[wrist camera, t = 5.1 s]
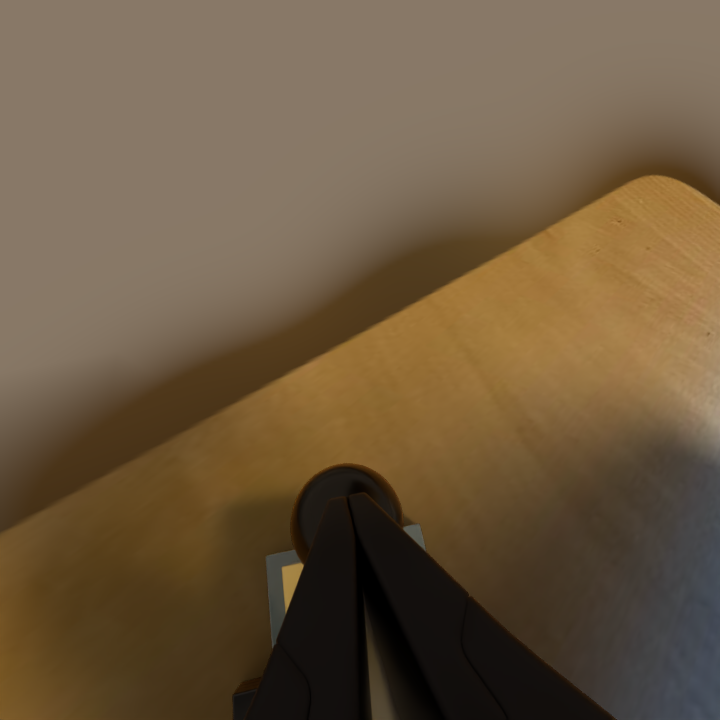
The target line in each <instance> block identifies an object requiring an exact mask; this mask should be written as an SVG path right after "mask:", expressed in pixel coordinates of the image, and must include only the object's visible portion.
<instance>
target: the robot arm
mask: <svg viewBox="0 0 720 720" xmlns="http://www.w3.org/2000/svg"><path fill="white" fill-rule="evenodd" d="M363 596H364V600H365V605H366V608H367V612H368V616H369V619H370V622H371V626H372V629H373V632H374V635H375V639H376V642H377V645H378V649H379V652H380V655H381V659H382V662H383V665H384V669H385V672H386V675H387V678H388V682H389V685H390V688H391V692H392V695H393V698H394V702H395V705H396V708H397V711H398V715H399V718H400V720H617V719H616V718H614V717H613V716H612V715H611V714H609V713H608V712H607V711H606V710H604V709H603V708H602V707H601V706H599V705H598V704H597V703H596V702H594V701H593V700H592V699H591V698H589V697H588V696H587V695H586V694H584V693H583V692H582V691H581V690H579V689H578V688H577V687H576V686H574V685H573V684H572V683H571V682H569V681H568V680H567V679H566V678H564V677H563V676H562V675H561V674H559V673H558V672H557V671H556V670H554V669H553V668H552V667H551V666H550V665H548V664H547V663H546V662H545V661H543V660H542V659H541V658H540V657H538V656H537V655H536V654H535V653H534V652H532V651H531V650H530V649H529V648H528V647H527V646H525V645H524V644H523V643H522V642H521V641H519V640H518V639H517V638H516V637H515V636H513V635H512V634H511V633H510V632H509V631H508V630H507V629H506V628H505V627H504V626H502V625H501V624H500V623H499V622H498V621H497V620H496V619H495V618H494V617H493V616H492V615H491V614H489V613H488V612H487V611H486V610H485V609H484V608H483V607H482V606H481V605H480V604H479V603H478V602H477V601H476V600H475V599H474V598H473V597H472V596H470V597H469V594H468V592H467V591H466V590H465V589H464V588H463V587H462V586H461V585H460V584H459V583H458V582H457V581H456V580H454V579H453V578H452V577H451V576H450V575H449V574H448V573H447V572H446V571H445V570H444V569H443V568H442V567H441V566H440V565H439V564H438V563H437V562H436V561H435V560H434V559H433V558H432V557H431V556H430V555H429V554H428V553H427V552H426V551H425V550H424V549H423V548H422V547H421V546H420V545H419V544H418V543H417V542H416V541H415V540H414V539H413V538H411V537H410V536H409V535H408V534H407V533H406V532H405V531H404V530H403V529H402V528H401V527H400V526H399V525H398V524H397V523H396V522H395V521H394V520H393V519H392V518H391V517H390V516H389V515H388V514H387V513H386V512H385V511H384V510H383V509H382V508H381V507H380V506H379V505H378V504H377V503H376V502H375V501H374V500H373V499H372V498H371V497H370V496H369V495H367V494H366V493H364V492H362V493H357V494H352V495H349V496H348V500H347V498H346V497H345V496H342V497H336V498H331V499H329V500H328V502H327V505H326V507H325V510H324V513H323V515H322V518H321V521H320V523H319V526H318V529H317V531H316V534H315V537H314V539H313V542H312V545H311V548H310V550H309V553H308V556H307V558H306V561H305V564H304V566H303V569H302V572H301V574H300V577H299V580H298V582H297V585H296V588H295V590H294V593H293V596H292V599H291V601H290V604H289V607H288V609H287V612H286V615H285V617H284V620H283V623H282V625H281V628H280V631H279V633H278V636H277V639H276V644H275V645H274V646H273V649H272V652H271V654H270V657H269V660H268V662H267V665H266V668H265V670H264V673H263V675H262V678H261V680H260V683H259V685H258V688H257V690H256V692H255V695H254V697H253V700H252V702H251V705H250V707H249V709H248V711H247V713H246V716H245V718H244V720H372V709H371V694H370V680H369V665H368V650H367V636H366V621H365V609H364V600H363Z"/></svg>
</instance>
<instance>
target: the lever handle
mask: <svg viewBox="0 0 720 720" xmlns="http://www.w3.org/2000/svg"><path fill="white" fill-rule="evenodd" d="M362 492H364V493H366V494H367V495H369V496H370V497H371V498H372V499H373V500H374V501H375V502H376V503H377V504H378V505H379V506H380V507H381V508H382V509H383V510H384V511H385V512H386V513H387V514H388V515H389V516H390V517H391V518H392V519H393V520H394V521H395V522H396V523H397V524H398V525H399V526H400V527H401V528H402V529H403V528H404V520H403V512H402V507H401V504H400V501H399V498H398V496H397V494H396V492H395V491H394V489H393V488H392V486H391V485H390V484H389V483H388V481H387V480H386V479H385V478H384V477H383V476H381V475H380V474H379V473H377V472H376V471H374V470H372V469H370V468H368V467H365V466H363V465H359V464H352V463H344V464H337V465H333V466H330V467H327V468H325V469H323V470H321V471H320V472H318V473H317V474H315V475H314V476H313V477H312V478H311V479H309V481H308V482H307V483H306V484H305V485H304V486H303V488H302V489H301V491H300V493H299V494H298V496H297V498H296V501H295V503H294V506H293V510H292V514H291V522H290V531H291V538H292V543H293V546H294V549H295V552H296V554H297V556H298V558H299V559H300V561H301V563H302V564H303V565H304V564H305V561H306V558H307V556H308V553H309V550H310V548H311V545H312V542H313V539H314V537H315V534H316V531H317V529H318V526H319V523H320V521H321V518H322V515H323V513H324V510H325V507H326V505H327V502H328V500H329V499H331V498H336V497H342V496H345V497H346V498H347V500H348V496H349V495H352V494H357V493H362ZM363 600H364V596H363ZM364 609H365V621H366V636H367V650H368V665H369V680H370V694H371V709H372V720H400V718H399V715H398V711H397V708H396V705H395V702H394V698H393V695H392V692H391V688H390V685H389V682H388V678H387V675H386V672H385V669H384V665H383V662H382V659H381V655H380V652H379V649H378V645H377V642H376V639H375V635H374V632H373V629H372V626H371V622H370V619H369V616H368V612H367V608H366V605H365V600H364Z"/></svg>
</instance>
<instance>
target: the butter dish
mask: <svg viewBox="0 0 720 720" xmlns="http://www.w3.org/2000/svg"><path fill="white" fill-rule="evenodd" d="M403 530H404V531H405V532H406V533H407V534H408V535H409V536H410V537H411V538H413V539H414V540H415V541H416V542H417V543H418V544H419V545H420V546H421V547H422V548H423V549H424V550H425V551H426V548H425V543H424V539H423V535H422V531H421V526H420V524H418V523H417V524H412V525H407V526H404V528H403ZM303 566H304V565H303V564H302V563H301V561H300V559H299V558H298V556H297V554H296V552H295V549H294V550H289V551H284V552H279V553H275V554H270V555H267V556H266V571H267V585H268V599H269V613H270V626H271V640H272V649H273V646H274V645H275V644H276V639H277V636H278V633H279V631H280V628H281V625H282V623H283V620H284V617H285V615H286V612H287V609H288V607H289V604H290V601H291V599H292V596H293V593H294V590H295V588H296V585H297V582H298V580H299V577H300V574H301V572H302V569H303Z"/></svg>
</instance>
